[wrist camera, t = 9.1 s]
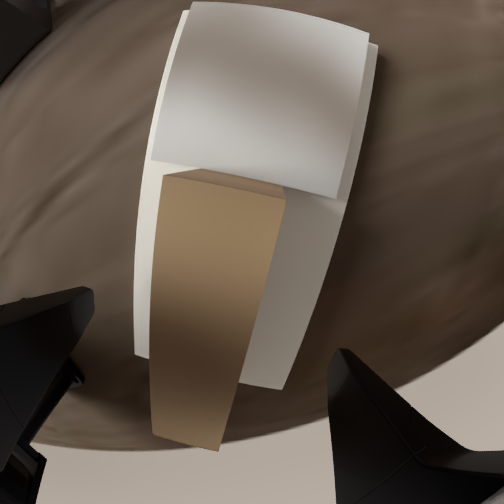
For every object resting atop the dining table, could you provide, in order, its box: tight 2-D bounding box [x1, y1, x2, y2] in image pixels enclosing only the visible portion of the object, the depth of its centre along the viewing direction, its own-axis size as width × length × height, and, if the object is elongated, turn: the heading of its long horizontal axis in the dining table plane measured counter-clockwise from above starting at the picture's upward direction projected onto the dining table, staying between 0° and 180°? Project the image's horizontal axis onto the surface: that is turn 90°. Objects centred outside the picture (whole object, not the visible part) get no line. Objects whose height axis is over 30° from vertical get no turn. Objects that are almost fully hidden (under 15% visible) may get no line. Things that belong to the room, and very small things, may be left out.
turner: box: [149, 2, 369, 451], centre depth 8 cm, size 15×6×4 cm, turn 168°
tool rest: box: [134, 10, 378, 390], centre depth 10 cm, size 15×7×1 cm, turn 168°
